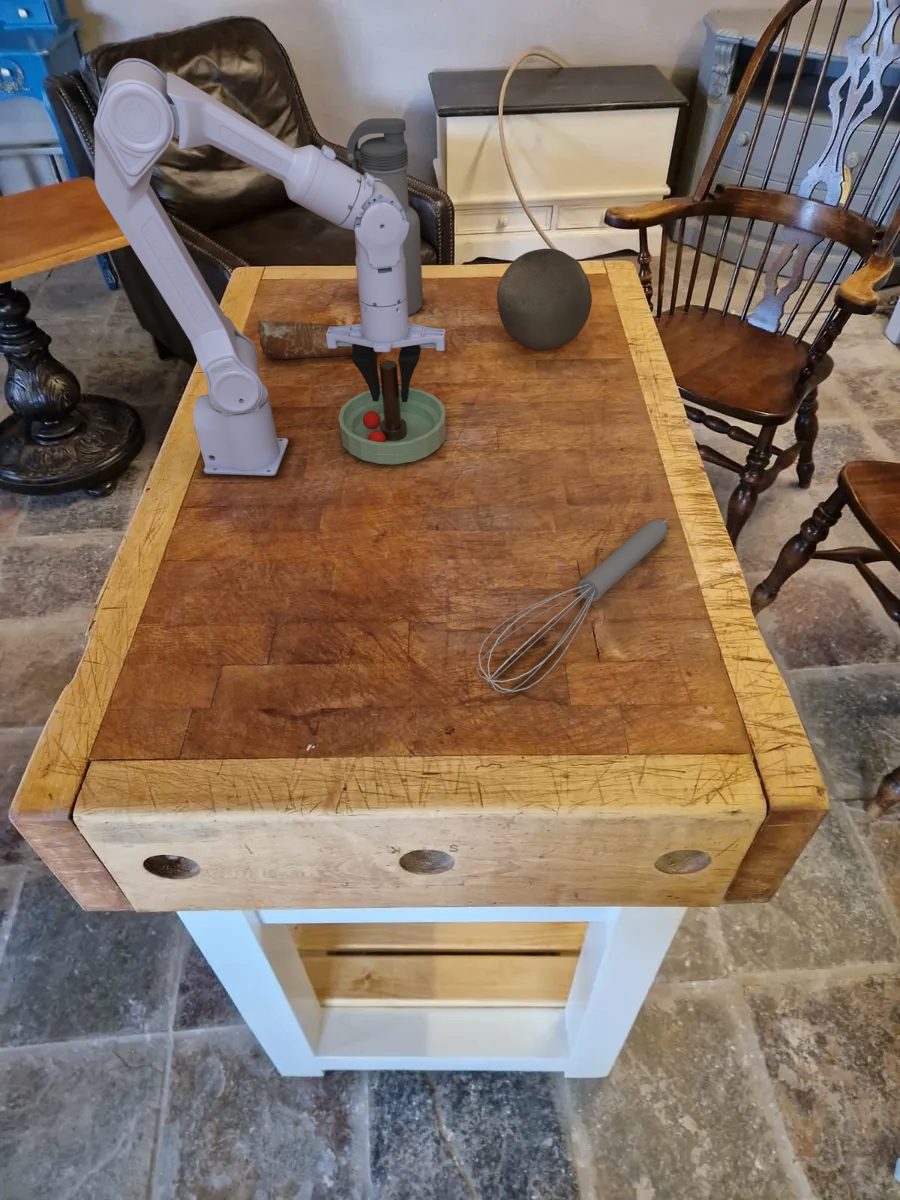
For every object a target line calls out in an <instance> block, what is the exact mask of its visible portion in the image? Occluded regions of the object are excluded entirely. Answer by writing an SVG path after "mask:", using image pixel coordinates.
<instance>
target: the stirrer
mask: <svg viewBox="0 0 900 1200" xmlns="http://www.w3.org/2000/svg"><path fill="white" fill-rule="evenodd" d="M379 375H380V376H379V377H380V388H382V398H383V409H384V420H383V421H382V422H381V423H380V431H381V432H382V433H384V435H385V437H386V440H388V441H398V440H401V439H403V438H404V437H406V435H407V424H406V421H405V420H403V419H401V413H400V399H399V387H400V386H399V373H398V364H397V362H396V361H394V360H389V359H388V360H384V361H381V362H380V363H379Z"/></svg>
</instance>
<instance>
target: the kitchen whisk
mask: <svg viewBox="0 0 900 1200" xmlns="http://www.w3.org/2000/svg"><path fill="white" fill-rule="evenodd" d="M670 519H671V517H670V516H668V517H667V518H665V519H664V520H662V519H659V518H654V519H652V520H650V521H647V522H646V523H645V524H644V525H642V526H641V527H640V528H639V529H638V530H637V531H636V532H634V534H632V535H631V536H630V537H629V538H628V539H627V540H625V541H624V542H623V543H622V544H621V545H619V546H618V547H617V548H616V549H615V550H614V551H613V552H612V553H610V554H609V555H608V556H607V557H606V558H605V559H604V560H602V561H601V562H600V563H599V564H598V565H597V566H596V567H594V568H592V570H591V571H590V572H589V573H588V574H587V575H585V576H584V577H582V579H581V580H580V581H579V582H578V584H577V586H576V587H574V588H571V589H568V590H565V591H563V592H559V593H557V594H554V595H552V596H550V597H547V598H545V599H542V600H540V601H538V602H536V603H533V604H532V605H530V606H528V607H526V608H524V609H522V610H520V611H519V612H517V613H515V614H514V615H511V616H510V617H509V618H507V619H506V620H504V621H502V623H500V624H499V625H498V626H496V627H495V629H493V630H492V631H491V632H490V634H488V636H487V637H486V638H485V640H484V641H483V642H482V644H481V647H480V649H479V652H478V662H479V663H478V665H477V668H476V670H477V675H478V677H480V678H482V679H484V680H486V684H487V685H489V684H491V686H492V687H493V689H494V691H497V692H499V693H501V694H506V693H510V692H514V693H515V692H520V691H525V690H527V689H530V688H531V687H532V686H535V685H536V684H538V683H539V682H540V681H542V680H543V679H544V677H546V675H548V674H549V673H550V672H551V671H552V670H553V669H554V667H555V666H556V665H557V664H558V662H559V661H560V660H561V658H562V657H563V656H564V654H565V652H566V651H567V650H568V648H569V647H570V645H571V643H572V641H573V640H574V639H575V637H576V634H577V633H578V631H579V629H580V627H581V626H582V623H583V621H584V619H585V617H586V615H587V613H588V611H589V608H590V606H591V604H592V602H597V601H598V600H599V599H600V598H602V597H603V595H605V594H606V593H607V591H609V590H610V589H611V588H612V587H613V586H614V585H615V584H616V583H617V582H619V580H621V579H622V578H623V577H624V576H625V575H626V574H627V573H629V571H631V570H632V569H633V568H634V567H635V566H636V565H638V563H640V561H642V560H643V559H644V558H645V557H646V556H647V555H648V554H649V553H650V552H651V551H652V550H653V549H654V548H656V546H658V545H659V544H660V543H661V542H662V541H663V540H664V539H665V537H666V535H667V534H668V526H667V524H666V523H667V522H668V521H669V520H670ZM575 590H578V591H577V592H574V593H573V594H571V595H569V596H568V597H566V598H564V599H562V600H561V601H559V602H557V603H555V604H554V605H552V606H550V607H549V608H547V609H545V610H543V611H541V613H539V614H537V615H535V616H533V617H532V618H531V619H529V620H528V621H526V622H525V623H523V624H522V625H520V626H519V627H517V628H515V629H514V630H513V631H511V632H510V633H508V635H506V636H504V637H503V638H502V636H503V635H504V634H505V633H506V632H507V630H508V629H509V628H511V627H512V626H513V625H515V623H517V622H518V621H519V620H520V619H522V618H523V617H524V616H526V615H527V614H529V613H531V612H532V611H533V610H535V609H537V608H539V607H540V606H542V605H544V604H545V603H547V602H549V601H552V600H554V599H556V598H558V597H560V596H563V595H565V594H568V593H570V592H573V591H575ZM577 594H580V595H579V596H578V597H577V598H575V599H573V601H571V602H570V603H569V604H568V605H567V606H565V608H563V609H562V610H560V611H559V612H558V613H557V614H556V615H555V616H553V617H552V618H551V619H550V620H549V621H548V622H547V623H546V624H544V625H543V626H542V627H541V628H540V629H538V630H537V631H536V632H535V633H534V634H533V635H531V636H530V637H529V638H528V639H527V640H526V641H525V642H524V643H523V644H521V646H520V647H519V648H518V649H517V650H515V651H514V653H512V655H510V657H508V658H507V659H506V660H505V661H504V662H503V663H502V664H501V665H500V666H499V667H498V668H497V669H496V671H495V672H494V673H493V674H492V675H491V672H490V671H491V670H490V662H491V658H492V653H493V651H494V649H495V648H496V647H497V646H498V645H499V644H500V643H502V642H503V641H505V639H507V638H509V637H510V636H511V635H512V634H514V633H515V632H516V631H518V630H520V629H521V628H523V627H524V626H526V625H527V624H528V623H530V622H532V621H533V620H535V619H537V618H538V617H539V616H541V615H543V614H545V613H546V612H547V611H549V610H551V609H553V608H555V607H556V606H558V605H559V604H562V603H563V602H565V601H566V600H569V599H570V598H572V597H573V596H576V595H577ZM583 598H584V599H585V602H584V604H583V605H582V607H581V609H580V610H579V612H578V613H577V615H576V616H575V618H574V620H573V621H572V622H571V624H570V625H569V627H568V628H567V630H566V631H565V633H564V634H563V635H562V637H561V638H560V639H559V641H558V642H557V644H556V645H555V646H554V648H553V649H552V650H551V651H550V653H549V654H548V655H547V656H546V657H545V658H544V659H543V660H542V661H541V662H540V663H539V664H537V665H536V666H534V667H533V668H531V669H530V670H528V671H527V672H525V673H522V674H520V675H518V676H516V677H513V678H509V679H505V680H498V679H497V678H498V677H500V675H502V674H503V673H504V672H505V671H507V669H508V668H510V667H511V665H513V664H514V663H515V662H516V661H517V660H518V659H519V658H520V657H521V656H523V654H525V653H526V652H527V651H528V650H529V649H530V648H531V647H533V646H534V645H535V644H536V643H537V641H539V640H540V639H541V638H542V637H543V636H544V635H546V633H547V632H548V631H549V630H550V629H551V628H552V627H554V626H555V625H556V624H557V623H558V622H559V621H560V620H561V619H562V618H563V617H564V616H565V615H566V614H567V613H568V612H569V611H570V610H571V609H573V607H575V606H576V605H578V603H579V602H580V601H581V600H582V599H583ZM572 604H573V605H572ZM569 607H570V608H569ZM527 610H528V611H527ZM525 611H526V612H525ZM564 611H565V612H564ZM563 612H564V613H563ZM521 613H523V614H522V615H521V616H518V617H517V618H516V619H515V620H514V621H513V622H511V624H510V625H508V626H507V627H506V629H504V630H503V632H501V634H500V635H499V636H498V638H497V639H496V641H495V642H494V644H493V646H492V647H491V648H490V649H489V650H488V651H487V652H486V653H485V655H483V656H482V657H481V653H482V650H483V647H484V645H485V644H486V642H487V641H488V639H489V638H490V636H492V634H493V633H494V632H495V631H497V630H498V629H499V628H500V627H502V626H503V625H504V624H505V623H506V622H508V621H510V620H512V619H513V618H515V617H516V616H517V615H519V614H521ZM562 613H563V614H562ZM561 614H562V615H561ZM559 615H561V616H559ZM558 616H559V618H557V617H558ZM582 616H583V617H582ZM556 618H557V620H556V621H555V622H553V624H551V625H550V626H549V627H548V628H547V629H546V630H545V631H543V633H542V634H541V635H539V637H537V638H536V640H534V641H533V642H532V643H531V644H530V645H528V647H527V648H526V649H524V650H523V651H522V653H520V654H519V655H518V656H517V657H515V659H513V660H512V662H511V663H509V664H508V665H507V666H506V667H505V668H504V669H503V670H501V669H502V668H503V667H504V665H505V664H507V663H508V662H509V661H510V660H511V658H513V657H514V656H515V655H516V654H517V653H518V652H519V651H520V650H521V649H522V648H524V646H525V645H527V644H528V643H529V642H530V641H531V640H532V639H533V638H534V637H536V636H537V635H538V634H539V633H540V632H541V631H542V630H543V629H545V628H546V627H547V626H548V625H549V624H550V623H551V622H552V621H553V620H555V619H556ZM581 618H582V619H581ZM580 619H581V621H580ZM579 621H580V622H579ZM578 623H579V624H578ZM577 624H578V626H577ZM576 626H577V628H576V630H575V632H574V633H573V635H572V637H571V639H570V641H569V642H568V644H567V645H566V646H565V649H564V650H563V651H562V653H561V655H560V656H559V657H558V659H557V660H556V661H555V662H554V664H553V665H552V666H551V667H550V669H548V670H547V671H546V672H545V673H544V674H543V675H542V676H541V677H540V678H539V679H537V680H536V681H534V682H533V683H531V684H530V685H528V686H525V687H522V685H524V684H525V683H526V682H527V681H528V680H529V679H530V678H531V677H533V676H534V675H535V674H536V672H537V671H539V669H540V668H541V667H542V666H543V665H544V663H546V661H547V660H548V659H549V658H550V657H551V656H552V655H553V654H554V653H555V652H556V651H557V649H558V648H560V647H561V645H562V644H563V643H564V642H565V641H566V639H567V638H568V637H569V635H570V634H571V632H572V631H573V630H574V628H575V627H576ZM500 639H501V640H500ZM488 655H489V656H488ZM487 656H488V661H487V673H488V675H487V673H486V672H485V670H484V669H483V667H482V661H484V659H485V658H486V657H487ZM479 668H480V670H481V671H482V673H483V674H484V676H483V675H481V673H480V670H479ZM500 670H501V671H500ZM499 671H500V672H499ZM498 672H499V673H498ZM532 672H533V673H532ZM497 673H498V674H497ZM530 673H531V674H530ZM496 674H497V675H496ZM528 674H530V675H529V676H528V677H527V678H526V679H525V680H524V681H523V682H521V683H519V685H517V686H515V687H514V688H512V689H509V688H504V687H501V686H500V685H499V684H497V683H505V682H509V681H515V680H517V679H520V678H521V677H524V676H527V675H528ZM494 676H495V677H494ZM496 687H497V688H496ZM520 687H522V688H520ZM498 688H499V689H500V690H499V689H498Z"/></svg>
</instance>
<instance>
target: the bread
mask: <svg viewBox="0 0 900 1200" xmlns="http://www.w3.org/2000/svg"><path fill="white" fill-rule="evenodd" d="M257 325H258V329H257V332H258V335H259V344H260V347H261V350H262V354H263V356H264V357H266V358H269V359H274V360H293V359H294V360H295V359H297V360H298V359H310V358H326V357H327V358H329V357H344V356H352V350H353V349H352V346H337V348H328V344H327V337H326V333H327V331H328V328H329V327H337V326H340V325H338V324H330V323H329V324H328V323H313V322H299V321H287V320H286V321H285V320H262V319H259V320H258V322H257Z"/></svg>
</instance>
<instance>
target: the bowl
mask: <svg viewBox="0 0 900 1200" xmlns="http://www.w3.org/2000/svg"><path fill="white" fill-rule="evenodd" d="M399 399H400V413H401V419H403V420H405V421H406V424H407V435H406V437H404V438H403V439H401V440H398V441H388V440H386V442H375V441H371V440H368V436H369V434H370V433H371V432H372V431H375V430H378V431H380V424H379V426H378V427H377V428H375V429H369V428H367V427H366V426H365V425H364V423H363V416H364V415H365V413H367V412H369V411H374V412H376V413H378V415H379V416H380V423H381V422H382V421H383V420H384V409H383V398H382V387H380V396H379V400H378V401H373V399H372V396H371V393H370V390H369V389H368V390H366V391H363V392H360V393H358V394H357V395H355V396H354V397H351V398H349V400H347V401H346V402H345V404H344V405H343V406H341V408H340V410H339V412H338V413H339V414H338V417H337V421H338V426H339V428H338V429H339V436H340V439H341V444H342V446H343V447H344V449H345V450H346V451H347V452H348V453H349V454H350V455H352V456H354V457H355V458H358V459H360V460H362V461H365V462H369V463H373V464H377V465H400V464H407V463H413V462H416V461H419V460H421V459H423V458H426V457H428V456H430V455H431V454H433V453H434V452H436V451H437V450H438V449H439V448H440V447H441V445H442V444H443V443H444V442H445V441H446V437H447V411H446V408H445V406H444V404H443V402H442V401H441V400H440V399H439V398H437V397H436V396H435V395H434V394H431V393H430V392H428V391H425V390H422V389H417V388H413V387H409V396H408V400H407V402H402V400H401V386H399Z"/></svg>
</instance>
